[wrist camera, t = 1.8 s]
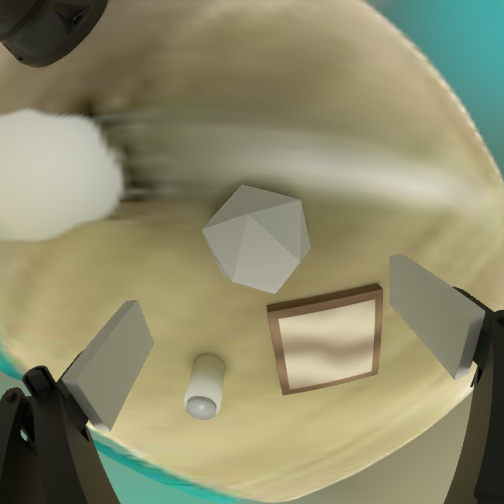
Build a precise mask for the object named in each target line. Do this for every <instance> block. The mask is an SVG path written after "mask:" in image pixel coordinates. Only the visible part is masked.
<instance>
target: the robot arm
mask: <svg viewBox="0 0 504 504" xmlns="http://www.w3.org/2000/svg"><path fill="white" fill-rule="evenodd" d="M106 3H107V0H0V42H1V43H2V44H3V45H4V46H5V47H6V48H7V49H8V50H9V51H10V52H11V53H12V54H13V55H14V56H15V58H16V59H17V60H18V61H19V62H21V63H23V64H25V65H29V66H32V67H43V66H47V65H49V64H51V63H53V62H55V61H57V60H59V59H60V58H62V57H63V56H65V55H66V54H67V53H69V52H70V51H71V50H72V49H73V48H74V47H76V46H77V45H78V44H79V43H80V42H81V41H82V40H83V38H84V37H85V36H86V35H87V34H88V33H89V32H90V30H91V29H92V28H93V26H94V25H95V24H96V22H97V21H98V19H99V17H100V16H101V14H102V12H103V10H104V8H105V6H106ZM390 305H391V306H392V307H393V308H394V310H395V311H396V312H397V313H398V314H399V315H400V316H401V317H402V318H403V320H404V321H405V322H406V323H407V324H408V325H409V326H410V327H411V329H412V330H413V331H414V332H415V333H416V334H417V335H418V337H419V338H420V339H421V340H422V341H423V342H424V344H425V345H426V346H427V347H428V348H429V349H430V351H431V352H432V353H433V354H434V355H435V357H436V358H437V359H438V360H439V361H440V363H441V364H442V365H443V366H444V367H445V369H446V370H447V371H448V372H449V374H450V375H451V376H452V377H453V379H454V380H455V379H457V378H459V377H461V376H463V375H465V374H467V373H469V370H470V367H471V364H472V361H474V362H475V363H476V364H477V365H478V367H477V370H476V372H475V375H474V378H473V381H472V383H471V386H470V387H473V385H474V389H473V397H472V403H471V409H470V415H469V420H468V425H467V430H466V435H465V439H464V443H463V447H462V451H461V455H460V458H459V461H458V465H457V468H456V471H455V474H454V477H453V480H452V483H451V486H450V489H449V491H448V494H447V497H446V499H445V502H444V504H504V310H499V311H496V312H493V311H492V310H491V309H489V308H488V307H487V306H485V305H484V304H483V303H481V302H480V301H478V300H476V298H474V297H473V296H471V295H470V294H469V293H467V292H466V291H464V290H462V289H460V288H457V287H451V286H450V285H449V284H447V283H446V282H444V281H443V280H441V279H440V278H438V277H437V276H435V275H434V274H433V273H431V272H430V271H428V270H427V269H425V268H424V267H422V266H420V265H419V264H417V263H416V262H414V261H413V260H411V259H410V258H408V257H407V256H405V255H403V254H399V255H394V256H390ZM153 344H154V342H153V339H152V337H151V334H150V331H149V329H148V326H147V324H146V321H145V318H144V316H143V313H142V310H141V307H140V304H139V302H138V300H131V301H126V302H125V303H124V304H123V305H122V306H121V307H120V308H119V309H118V311H117V312H116V313H115V314H114V315H113V316H112V318H111V319H110V320H109V321H108V322H107V323H106V324H105V326H104V327H103V328H102V329H101V330H100V332H99V333H98V334H97V335H96V336H95V338H94V339H93V340H92V341H91V342H90V344H89V345H88V346H87V347H86V348H85V350H84V351H82V352H81V353H80V354H79V355H78V356H77V357H76V358H75V360H74V362H72V363H71V365H70V367H68V368H67V370H66V371H65V372H64V373H63V375H62V376H61V377H60V378H59V380H58V381H57V382H55V380H54V379H53V377H52V375H51V374H50V372H49V370H48V368H47V367H46V366H37V367H34V368H32V369H30V370H29V371H28V372H27V373H26V374H25V375H24V376H23V379H22V381H23V383H24V384H25V386H26V387H27V389H28V390H29V392H30V393H31V395H32V396H27V397H26V396H25V394H24V393H23V391H22V390H21V389H20V388H18V387H16V388H12V389H9V390H7V391H6V393H5V394H4V395H3V396H2V398H1V400H0V504H120V502H119V500H118V498H117V496H116V494H115V492H114V490H113V488H112V486H111V484H110V481H109V479H108V477H107V475H106V472H105V470H104V468H103V466H102V464H101V461H100V458H99V455H98V453H97V450H96V448H95V445H94V442H93V439H92V436H91V434H90V431H89V430H88V428H87V427H86V424H87V422H88V420H89V421H90V422H91V423H92V425H93V426H94V427H95V429H98V430H104V431H111V429H112V427H113V425H114V423H115V421H116V418H117V416H118V414H119V412H120V410H121V408H122V406H123V404H124V402H125V400H126V398H127V396H128V394H129V392H130V390H131V388H132V386H133V384H134V382H135V380H136V378H137V376H138V374H139V372H140V370H141V368H142V366H143V364H144V362H145V360H146V358H147V356H148V354H149V352H150V350H151V348H152V346H153ZM21 430H22V431H23V432H24V433H25V435H26V436H27V440H26V441H25V440H24V439H23V438H22V436H21Z"/></svg>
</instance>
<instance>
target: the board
mask: <svg viewBox="0 0 504 504" xmlns="http://www.w3.org/2000/svg"><path fill="white" fill-rule="evenodd" d="M382 307H383V289H382V288H381V287H380V285H379V284H374V285H370V286H365V287H361V288H356V289H352V290H347V291H342V292H337V293H333V294H328V295H323V296H318V297H312V298H307V299H302V300H296V301H291V302H285V303H280V304H274V305H268V306H267V311H268V317H269V323H270V328H271V334H272V339H273V344H274V350H275V355H276V361H277V366H278V372H279V377H280V383H281V388H282V394H283V395H288V394H294V393H300V392H305V391H310V390H315V389H320V388H325V387H329V386H334V385H338V384H342V383H346V382H350V381H354V380H358V379H362V378H366V377H369V376H373V375H376V374H378V366H379V355H380V344H381V329H382Z"/></svg>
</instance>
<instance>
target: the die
mask: <svg viewBox="0 0 504 504" xmlns="http://www.w3.org/2000/svg"><path fill="white" fill-rule="evenodd" d="M201 230H202V232H203V235H204V237H205V239H206V241H207V243H208V245H209V248H210V250H211V252H212V254H213V256H214V258H215V260H216V262H217V264H218V267H219V269H220V271H221V273H222V275H224V276H225V277H226V278H228V279H229V280H231V281H232V282H235V283H238V284H242V285H245V286H249V287H252V288H256V289H259V290H263V291H266V292H270V293H273V294H275V293H276V292H277V291H278V290H279V288H280V287H281V286H282V285H283V284H284V282H285V281H286V280H287V279H288V277H289V276H290V275H291V274H292V272H293V271H294V270H295V269H296V267H297V266H298V265H299V263H300V262H301V261H302V260H303V258H304V257H305V256H306V255H307V253H308V252H309V251H310V249H311V248H310V242H309V237H308V232H307V227H306V222H305V217H304V212H303V208H302V203H301V200H300V199H296V198H293V197H289V196H285V195H282V194H278V193H274V192H270V191H267V190H263V189H259V188H255V187H251V186H247V185H243V184H242V185H241V186H240V187H239V188H238V189H237V190H236V192H235V193H234V194H233V195H232V196H231V197H230V198H229V199H228V200H227V201H226V203H225V204H224V205H223V206H222V207H221V208H220V209H219V210H218V211H217V213H216V214H215V215H214V216H213V217H212V218H211V219H210V220H209V222H208V223H207V224H206V225H205V226H204V227H203V228H202V229H201Z"/></svg>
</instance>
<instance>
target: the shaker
mask: <svg viewBox="0 0 504 504" xmlns="http://www.w3.org/2000/svg"><path fill="white" fill-rule="evenodd" d="M224 372H225V364H224V362H223V361H222V360H221V359H220V358H219V357H217V356H215V355H211V354H203V355H200V356H198V357H197V358H196V359H195V361H194V364H193V368H192V371H191V375H190V379H189V383H188V386H187V390H186V394H185V398H184V406H185V408H186V411H187V413H188V414H189V415H191V416H192V417H194V418H197V419H201V420H207V419H211V418H213V417H214V416H215V415H216V414H217V413H218V412H219V411H220V406H221V398H222V389H223V381H224Z"/></svg>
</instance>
